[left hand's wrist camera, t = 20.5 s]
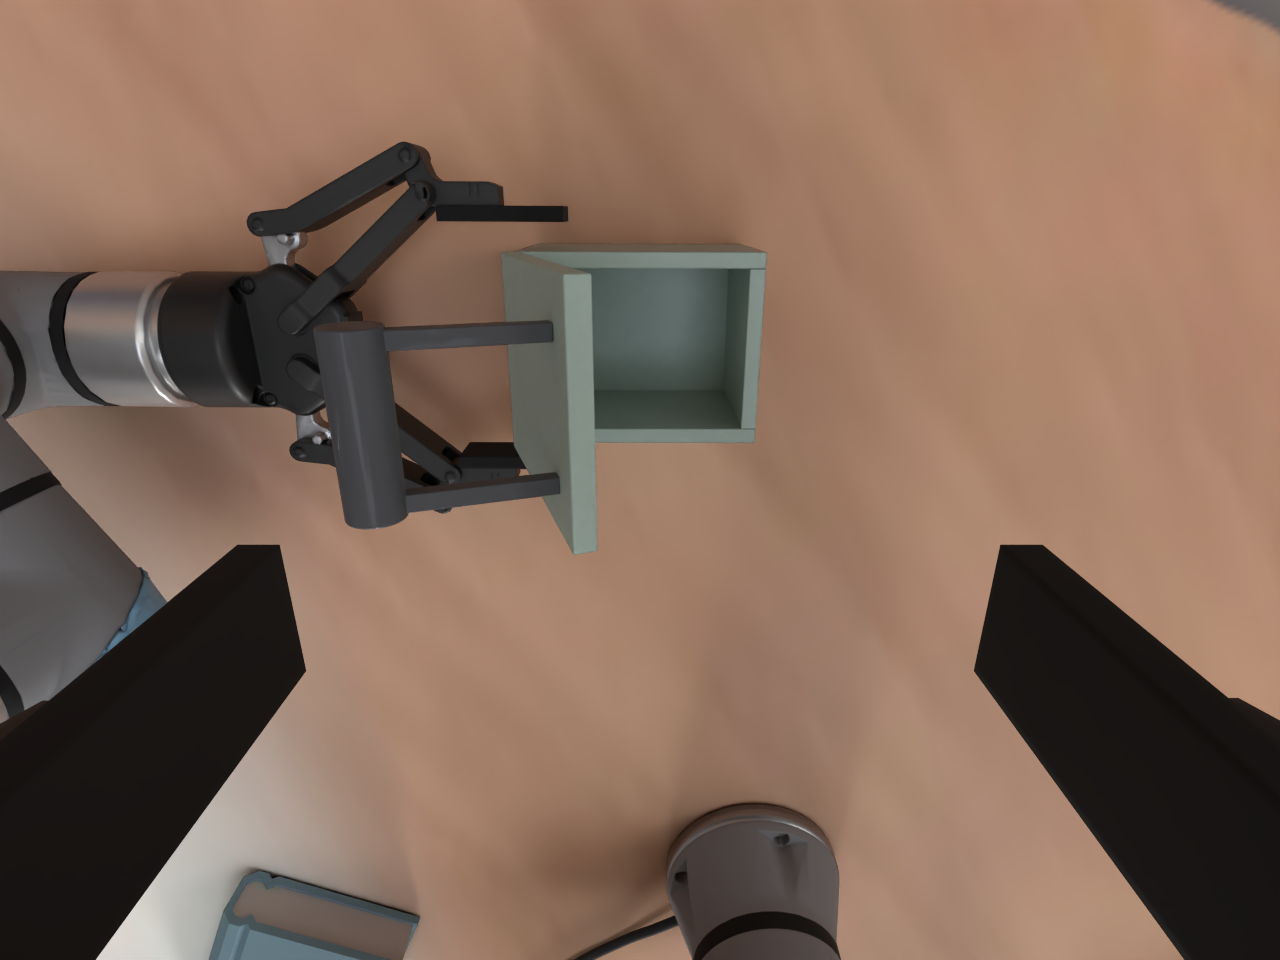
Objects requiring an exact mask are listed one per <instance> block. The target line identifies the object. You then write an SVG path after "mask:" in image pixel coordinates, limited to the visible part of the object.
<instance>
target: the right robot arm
mask: <svg viewBox="0 0 1280 960" xmlns="http://www.w3.org/2000/svg"><path fill="white" fill-rule="evenodd" d="M406 180H407V182H408V185H409V187H410V188H409V189H408V190H407V191H406V192H405V193H404V194H403V195H402V196H401V197H400V198H399V199H398V200H397V201H396V202H395V203H394V204H393V205H392V206H391V207H390V208H389V209H388V210H387V211H386V212H385V213H384V214H383V215H382V216H381V217H380V218H379V219H378V220H377V221H376V222H375V223H374V224H373V225H372V226H371V227H370V228H369V229H368V230H367V231H366V232H365V233H364V234H363V235H362V236H361V237H360V238H359V239H358V241H357V242H356V243H355V244H354V245H353V246H352V247H351V248H350V249H349V250H348V251H347V252H346V253H345V254H344V255H343V256H342V257H341V258H340V259H339V260H338V261H337V262H336V263H335V264H334V265H332V266H331V267H329V268H328V269H326V270H325V271H324V272H323V273H322V274H321V275H320V276H319V277H317V276H316V275H314V274H313V273H311V272H310V271H308V270H307V269H305V268H304V267H302V266H301V265H299V264H296V263H295V261H294V256H295V253H296V252H297V251H298V250H299V249H302V248H304V247H305V246H306V244H307V241H308V236H307V232H312V231H316V230H319V229H321V228H323V227H326V226H328V225H329V224H331V223H333V222H335V221H336V220H338V219H340V218H342V217H343V216H345V215H347V214H349V213H350V212H352V211H354V210H356V209H357V208H359V207H361V206H363V205H364V204H366V203H368V202H370V201H371V200H373V199H375V198H377V197H378V196H380V195H382V194H384V193H385V192H387V191H389V190H391V189H392V188H394V187H396V186H398V185H399V184H401V183H403V182H405V181H406ZM435 211H436V217H437V221H505V222H566V221H568V207H567V206H504V198H503V187H502V186H500V185H497V184H495V183H492V182H455V181H442V180H441V179H440V178H439V177H438V176H437V175H436V173H435V171H434V169H433V167H432V164H431V157H430V155H429V152H428V151H427V150H426V149H425V148H423V147H421V146H418V145H414V144H411V143H408V142H400V143H398V144H396V145H394V146H393V147H391V148H389V149H387V150H386V151H384V152H382V153H381V154H379V155H377V156H375V157H374V158H372V159H370V160H369V161H367V162H365V163H363V164H362V165H360V166H358V167H357V168H355V169H353V170H351V171H350V172H348V173H346V174H345V175H343V176H341V177H339V178H338V179H336V180H334V181H333V182H331V183H329V184H327V185H326V186H324V187H322V188H321V189H319V190H317V191H315V192H314V193H312V194H310V195H309V196H307V197H305V198H303V199H302V200H300V201H298V202H297V203H295V204H293V205H291V206H290V207H288V208H286V209H277V210H269V211H261V212H254V213H251V214H250V215H249V216H248V219H247V226H248V228H249V230H250V231H251V232H252V233H253V234H254V235H256V236H260V237H261V239H262V242H263V245H264V249H265V252H266V256H267V259H268V263H269V267H267V268H266V269H264V270H262V271H260V272H187V273H184V274H181V273H178V272H175V271H100V272H85V273H77V272H36V271H0V723H2V722H4V721H6V720H8V719H10V718H11V717H13V716H15V715H17V714H19V713H21V712H22V711H24V710H26V709H28V708H30V707H32V706H33V705H35V704H37V703H39V702H41V701H49V700H50V699H51V698H52V697H54V696H55V695H56V694H57V693H59V692H60V691H61V690H62V689H63V688H65V687H66V686H67V685H68V684H69V683H71V682H72V681H73V680H74V679H75V678H77V677H78V676H79V675H80V674H82V673H83V672H84V671H85V670H86V669H88V668H89V667H90V666H91V665H92V664H94V663H95V662H96V661H97V660H98V659H100V658H101V657H102V656H103V655H105V654H106V653H107V652H108V651H109V650H111V649H112V648H113V647H114V646H115V645H117V644H118V643H119V642H120V641H122V640H123V639H124V638H125V637H126V636H128V635H129V634H130V633H131V632H132V631H134V630H135V629H136V628H137V627H138V626H140V625H141V624H142V623H143V622H145V621H146V620H147V619H148V618H149V617H151V616H152V615H153V614H154V613H155V612H157V611H158V610H159V609H160V608H162V607H163V606H164V605H165V604H166V603H167V601H166V600H165V599H164V597H163V596H162V595H161V593H160V592H159V591H158V589H157V588H156V587H155V585H154V584H153V583H152V581H151V580H150V577H149V576H148V573H147V572H146V571H144V570H143V569H142V568H141V567H137V566H136V565H135V564H134V563H133V562H132V561H131V560H130V559H129V558H128V556H127V555H126V554H125V553H124V552H123V551H122V550H121V549H120V548H119V547H118V546H117V545H116V544H115V543H114V541H113V540H112V539H111V538H110V537H109V536H108V535H107V534H106V533H105V532H104V531H103V530H102V529H101V528H100V526H99V525H98V524H97V523H96V522H95V521H94V520H93V519H92V518H91V517H90V516H89V515H88V514H87V513H86V511H85V510H84V509H83V508H82V507H81V506H80V505H79V504H78V503H77V502H76V501H75V500H74V499H73V498H72V496H71V495H70V494H69V493H68V492H67V491H66V490H65V489H64V488H63V487H62V486H61V485H62V484H60V482H59V481H58V479H57V478H56V477H55V476H54V475H53V474H52V472H51V471H50V470H49V468H48V467H47V466H46V465H45V464H44V463H43V462H42V461H41V459H40V458H39V457H38V456H37V455H36V454H35V453H34V452H33V450H32V449H31V448H30V447H29V446H28V445H27V444H26V443H25V441H24V440H23V439H22V438H21V437H20V436H19V435H18V434H17V432H16V431H15V430H14V429H13V428H12V427H11V426H10V424H9V423H8V422H7V421H6V419H9V418H12V417H15V416H18V415H21V414H24V413H27V412H30V411H33V410H37V409H42V408H48V407H58V406H149V407H193V406H197V405H201V406H205V407H279V408H283V409H286V410H289V411H291V412H293V413H295V414H296V423H297V438H298V439H297V441H296V442H294V443H293V444H292V445H291V446H290V450H289V451H290V454H291V456H292V457H293V458H294V459H296V460H298V461H303V462H312V463H321V464H329V465H332V466H334V467H336V464H335V458H334V452H333V446H332V440H331V434H330V428H329V423H328V422H326V421H325V420H323V418H322V417H321V415H320V410H322V409H323V408H325V407H326V404H325V398H324V393H323V387H322V381H321V375H320V369H319V363H318V357H317V351H316V345H315V339H314V333H313V329H314V327H316V326H319V325H322V324H327V323H335V322H347V321H363V316H362V311H358V310H357V308H356V306H355V304H354V303H353V302H352V301H351V300H350V298H351V297H352V296H353V295H354V294H355V293H356V292H357V291H358V290H359V289H360V288H361V287H362V286H363V285H364V284H365V283H366V281H367V279H368V278H369V277H370V276H371V275H372V274H373V273H374V272H375V271H376V270H377V269H378V268H379V267H380V266H381V265H382V264H383V263H384V262H385V261H386V260H387V259H388V258H389V257H390V256H391V255H392V254H393V253H394V252H395V251H396V250H397V249H398V248H399V247H400V246H401V245H402V244H403V243H404V242H405V241H406V240H407V239H408V238H409V237H410V236H411V235H412V234H413V233H414V232H415V231H416V230H417V229H418V228H419V227H420V226H421V225H422V224H423V223H424V222H425V221H426V220H427V219H428V218H429V217H430V216H431V215H432V214H433V213H434V212H435ZM395 409H396V417H397V424H398V432H399V440H400V447H401V452H402V453H403V454H405V455H406V456H408V457H409V458H410V459H412V460H413V461H414V462H416V463H417V464H416V463H414V462H411V461H409V460H407V459H405V458H402V463H403V470H404V478H405V486H406V489H410V488H419V487H428V486H436V485H445V484H454V483H463V482H472V481H480V480H489V479H498V478H507V477H516V476H519V474H520V469H527V468H526V467H525V465H524V463H523V461H522V459H521V457H520V456H519V454H518V452H517V450H516V448H515V446H514V442H470V443H469V444H468V446H467V447H466V448H465V450H464V451H463V452H462V453H461V452H460V451H459V450H457V449H456V448H455V447H453V446H452V445H451V444H449V443H448V442H447V441H445V440H444V439H443V438H441V437H440V436H439V435H437V434H436V433H435V432H433V431H432V430H431V429H429V428H428V427H427V426H425V425H424V424H423V423H421V422H420V421H419V420H417V419H416V418H415V417H413V416H412V415H411V414H409V413H408V412H407V411H405V410H404V409H403V408H401V407H400V406H399V405H397V404H396V403H395ZM418 464H419V465H418ZM452 508H453V507H452ZM452 508H444V509H436V510H434V511H437V512H439V513H448V512H449V511H450V510H451V509H452Z"/></svg>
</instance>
